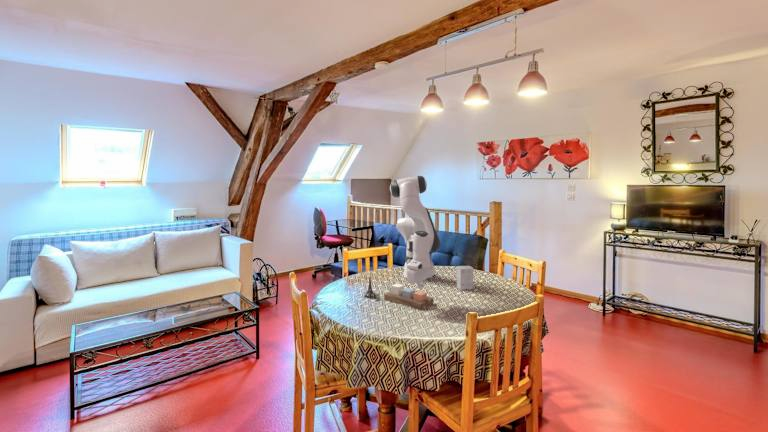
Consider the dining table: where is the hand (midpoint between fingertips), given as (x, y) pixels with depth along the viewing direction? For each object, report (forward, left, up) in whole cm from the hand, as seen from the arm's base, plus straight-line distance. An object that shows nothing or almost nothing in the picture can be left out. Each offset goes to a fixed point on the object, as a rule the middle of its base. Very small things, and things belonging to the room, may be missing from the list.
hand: (421, 287), depth 210 cm
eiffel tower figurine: (+8, -28, -10) cm, 31 cm away
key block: (+1, -8, -9) cm, 12 cm away
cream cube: (+1, -15, -6) cm, 16 cm away
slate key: (+1, -8, -8) cm, 11 cm away
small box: (-40, +4, -9) cm, 42 cm away
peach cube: (+1, 0, -8) cm, 8 cm away
